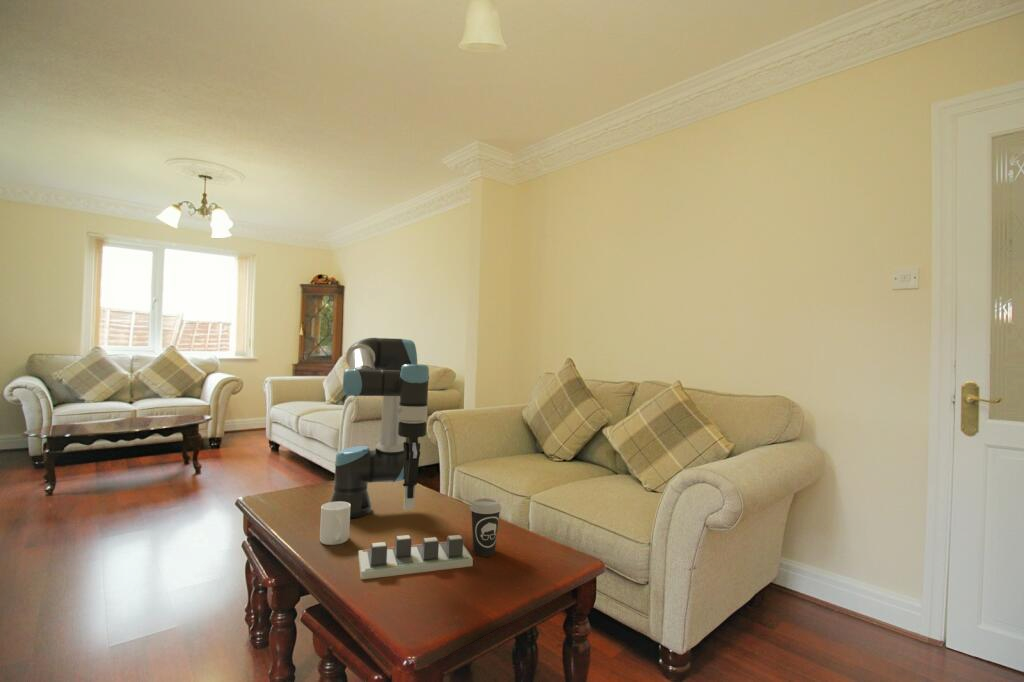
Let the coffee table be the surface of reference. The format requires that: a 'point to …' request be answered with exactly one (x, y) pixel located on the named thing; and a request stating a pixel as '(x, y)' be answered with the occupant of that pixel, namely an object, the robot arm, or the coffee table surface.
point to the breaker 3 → (430, 548)
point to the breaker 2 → (403, 546)
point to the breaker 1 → (378, 553)
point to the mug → (335, 523)
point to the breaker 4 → (454, 545)
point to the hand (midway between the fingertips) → (408, 509)
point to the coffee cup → (485, 525)
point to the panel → (411, 562)
